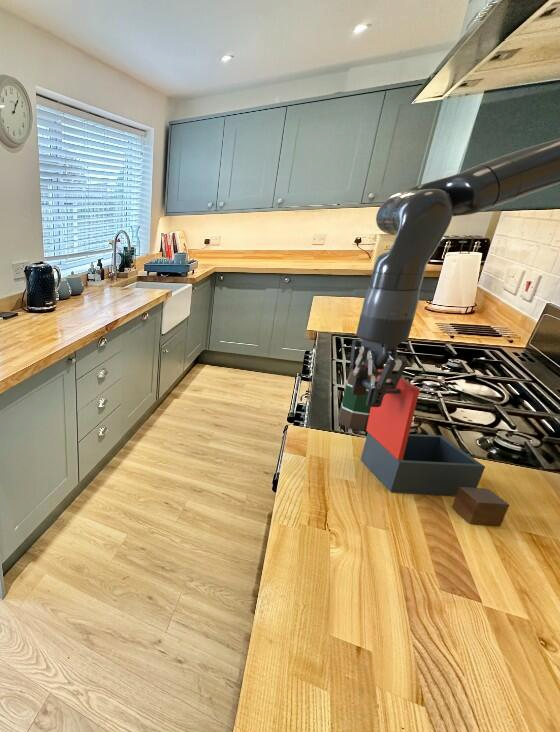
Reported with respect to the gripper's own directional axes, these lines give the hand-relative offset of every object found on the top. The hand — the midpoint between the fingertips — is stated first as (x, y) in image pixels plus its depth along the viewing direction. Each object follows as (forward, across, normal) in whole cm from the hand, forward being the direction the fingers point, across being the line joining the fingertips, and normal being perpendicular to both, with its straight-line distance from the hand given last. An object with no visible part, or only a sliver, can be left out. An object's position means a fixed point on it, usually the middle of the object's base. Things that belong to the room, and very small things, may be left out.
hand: (365, 399), depth 80 cm
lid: (+2, 0, -5) cm, 6 cm away
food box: (+17, 0, -12) cm, 21 cm away
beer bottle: (+17, +23, -12) cm, 31 cm away
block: (+17, -12, -15) cm, 26 cm away
